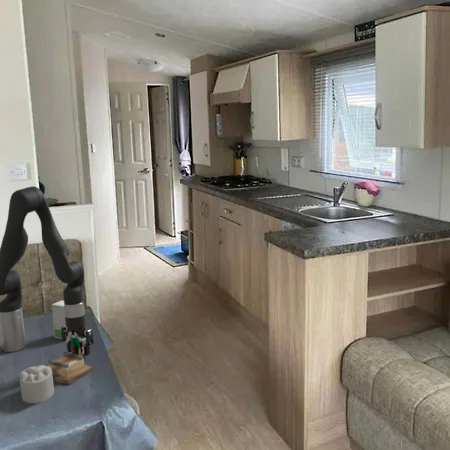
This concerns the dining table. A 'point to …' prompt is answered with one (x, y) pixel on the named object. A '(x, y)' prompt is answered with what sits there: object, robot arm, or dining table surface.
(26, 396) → the white cylindrical tub
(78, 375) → the display stand
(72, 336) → the soda can
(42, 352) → the dining table surface
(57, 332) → the skincare box
